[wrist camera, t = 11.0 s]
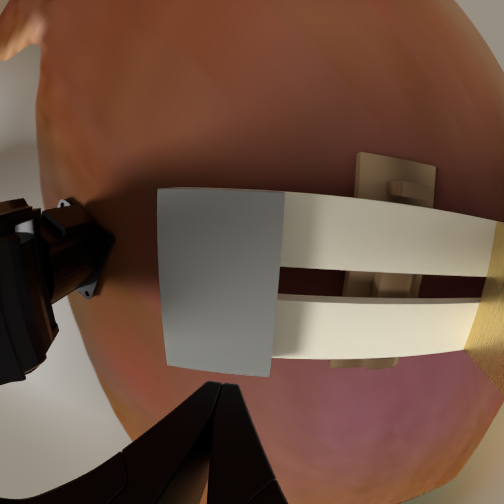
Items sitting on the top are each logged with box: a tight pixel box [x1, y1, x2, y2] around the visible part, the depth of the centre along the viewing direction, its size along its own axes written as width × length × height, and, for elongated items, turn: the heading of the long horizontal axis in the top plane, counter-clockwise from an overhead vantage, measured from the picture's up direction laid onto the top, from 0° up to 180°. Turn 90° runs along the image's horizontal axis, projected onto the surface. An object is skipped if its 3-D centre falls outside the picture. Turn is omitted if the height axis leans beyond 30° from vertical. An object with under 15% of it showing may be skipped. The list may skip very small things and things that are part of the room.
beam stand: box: [329, 152, 436, 370], centre depth 17 cm, size 6×16×4 cm, turn 177°
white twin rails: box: [157, 187, 503, 377], centre depth 14 cm, size 32×10×3 cm, turn 87°
